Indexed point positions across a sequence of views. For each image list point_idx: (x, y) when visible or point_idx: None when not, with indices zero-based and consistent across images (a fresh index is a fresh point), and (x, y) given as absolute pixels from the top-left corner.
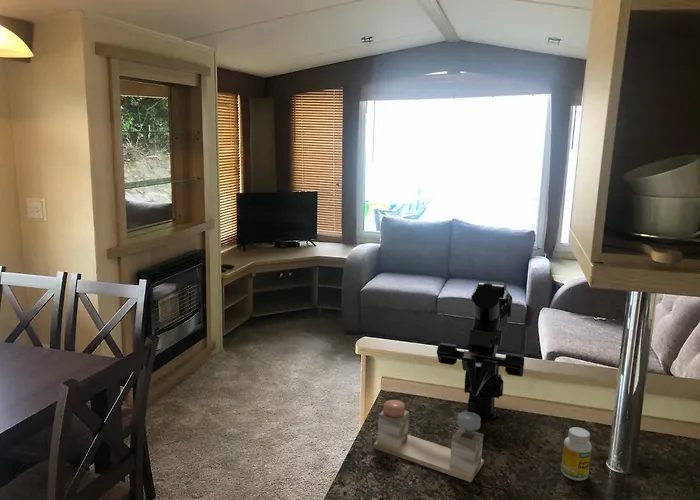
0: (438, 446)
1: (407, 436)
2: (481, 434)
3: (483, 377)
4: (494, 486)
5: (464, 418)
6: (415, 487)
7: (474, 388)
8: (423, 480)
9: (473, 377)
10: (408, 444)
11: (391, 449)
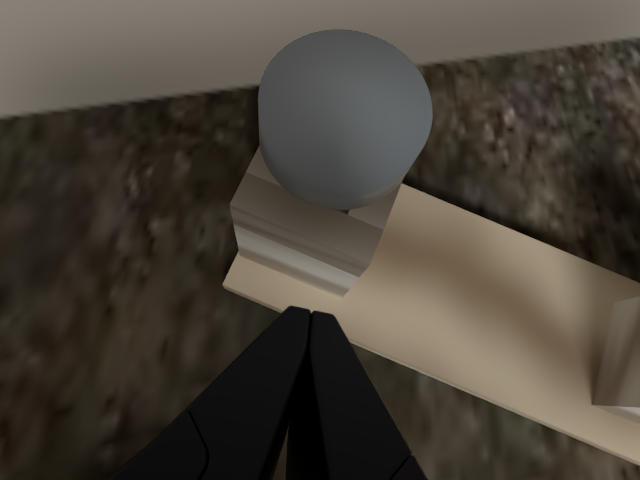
0: (437, 357)
1: (598, 404)
2: (241, 201)
3: (158, 441)
4: (200, 136)
5: (383, 75)
6: (487, 91)
7: (316, 339)
8: (466, 133)
9: (356, 459)
10: (574, 344)
11: (634, 284)
